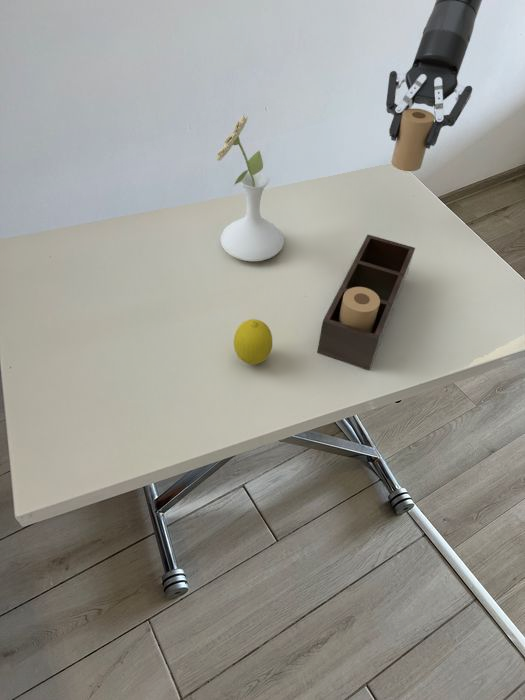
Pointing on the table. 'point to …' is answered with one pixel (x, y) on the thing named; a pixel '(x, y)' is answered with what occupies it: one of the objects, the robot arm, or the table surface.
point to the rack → (379, 276)
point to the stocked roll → (359, 308)
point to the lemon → (253, 341)
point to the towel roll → (412, 139)
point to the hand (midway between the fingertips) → (410, 142)
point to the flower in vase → (250, 210)
